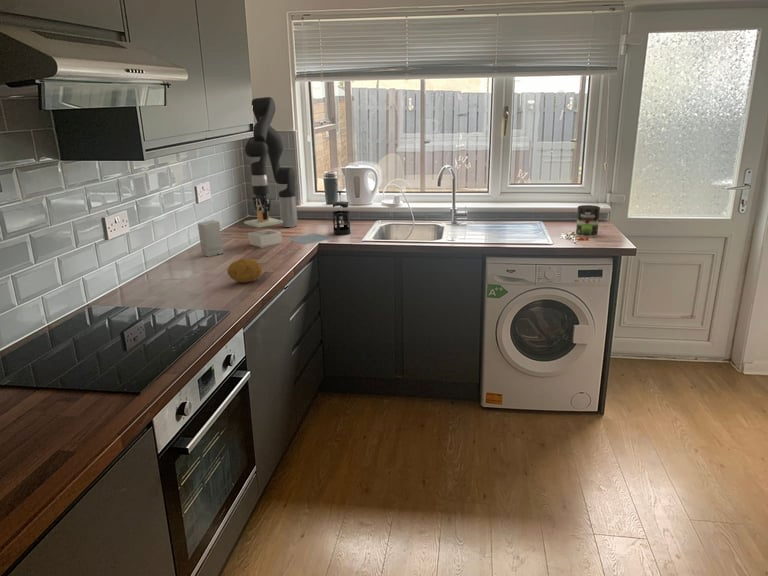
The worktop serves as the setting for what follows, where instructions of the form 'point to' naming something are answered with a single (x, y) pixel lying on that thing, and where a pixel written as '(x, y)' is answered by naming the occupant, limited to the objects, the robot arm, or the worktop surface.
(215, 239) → the skincare box
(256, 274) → the potato
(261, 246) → the dish
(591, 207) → the coffee can
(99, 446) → the worktop surface
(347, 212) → the french press
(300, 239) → the mat
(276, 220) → the lid
